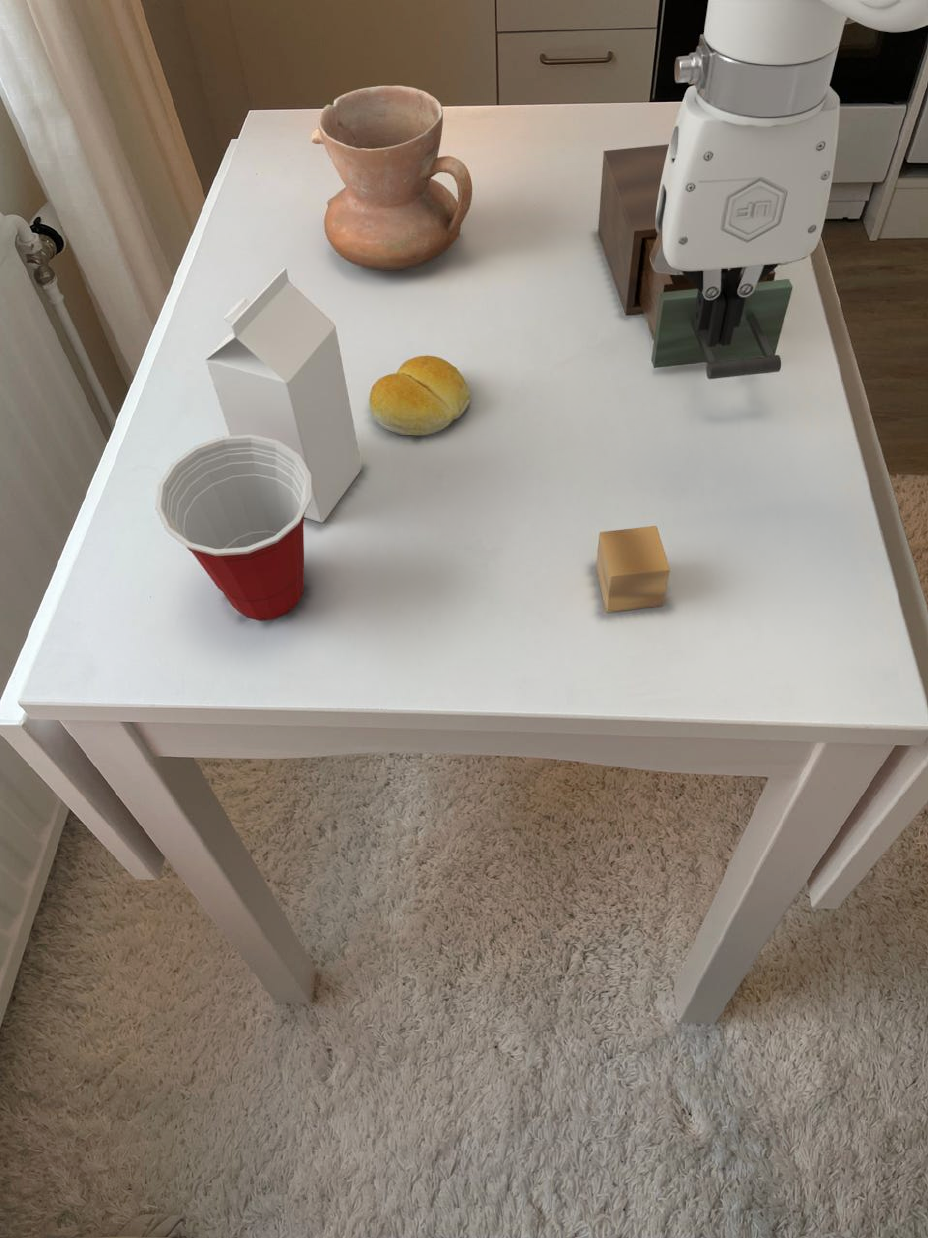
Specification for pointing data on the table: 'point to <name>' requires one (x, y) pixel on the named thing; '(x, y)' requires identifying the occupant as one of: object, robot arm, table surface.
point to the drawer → (682, 344)
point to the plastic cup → (242, 519)
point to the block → (632, 568)
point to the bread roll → (420, 397)
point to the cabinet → (629, 213)
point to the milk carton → (289, 386)
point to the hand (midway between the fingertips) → (713, 334)
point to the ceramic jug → (390, 178)
